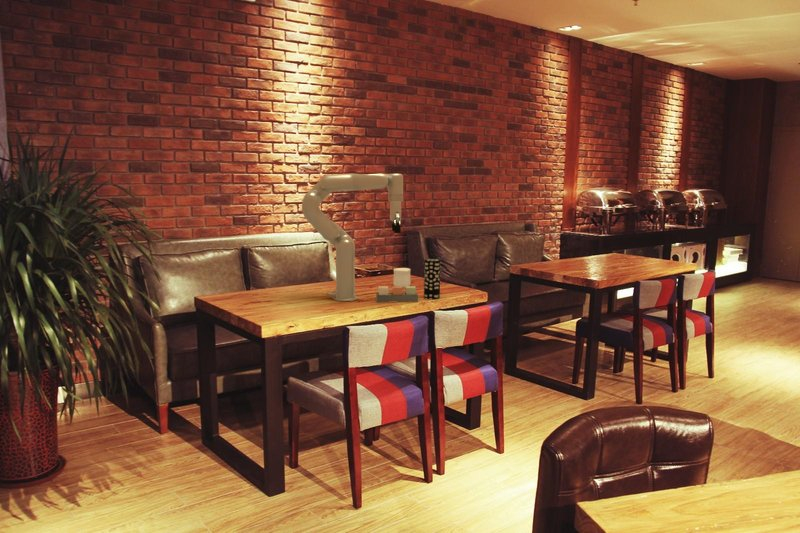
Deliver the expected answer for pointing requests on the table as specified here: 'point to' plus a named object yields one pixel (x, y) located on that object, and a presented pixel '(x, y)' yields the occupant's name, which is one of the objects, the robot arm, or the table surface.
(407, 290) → the sage button
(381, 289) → the white button
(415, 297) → the button box
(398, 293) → the clay button
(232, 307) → the table surface
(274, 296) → the table surface
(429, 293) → the white-spotted black cylinder
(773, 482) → the table surface
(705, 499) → the table surface
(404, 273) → the cup
